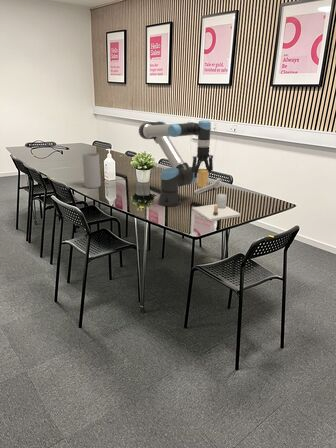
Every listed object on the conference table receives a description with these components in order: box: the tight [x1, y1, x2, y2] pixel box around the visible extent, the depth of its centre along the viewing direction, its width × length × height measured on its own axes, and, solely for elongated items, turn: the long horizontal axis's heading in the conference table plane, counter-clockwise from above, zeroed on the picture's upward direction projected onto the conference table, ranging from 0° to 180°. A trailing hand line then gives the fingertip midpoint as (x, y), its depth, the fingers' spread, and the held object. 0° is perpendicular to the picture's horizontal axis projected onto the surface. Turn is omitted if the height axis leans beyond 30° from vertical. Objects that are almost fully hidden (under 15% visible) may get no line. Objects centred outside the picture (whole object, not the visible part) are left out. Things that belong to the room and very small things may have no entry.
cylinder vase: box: [81, 152, 102, 189], centre depth 261 cm, size 12×12×25 cm
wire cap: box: [195, 168, 209, 188], centre depth 218 cm, size 7×7×10 cm
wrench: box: [193, 177, 223, 195], centre depth 257 cm, size 8×2×30 cm
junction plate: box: [191, 193, 242, 222], centre depth 211 cm, size 22×22×10 cm
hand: (201, 181), depth 220 cm, fingers closed on wire cap, 7 cm apart
